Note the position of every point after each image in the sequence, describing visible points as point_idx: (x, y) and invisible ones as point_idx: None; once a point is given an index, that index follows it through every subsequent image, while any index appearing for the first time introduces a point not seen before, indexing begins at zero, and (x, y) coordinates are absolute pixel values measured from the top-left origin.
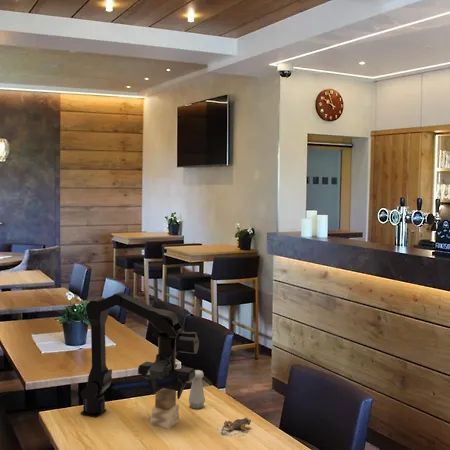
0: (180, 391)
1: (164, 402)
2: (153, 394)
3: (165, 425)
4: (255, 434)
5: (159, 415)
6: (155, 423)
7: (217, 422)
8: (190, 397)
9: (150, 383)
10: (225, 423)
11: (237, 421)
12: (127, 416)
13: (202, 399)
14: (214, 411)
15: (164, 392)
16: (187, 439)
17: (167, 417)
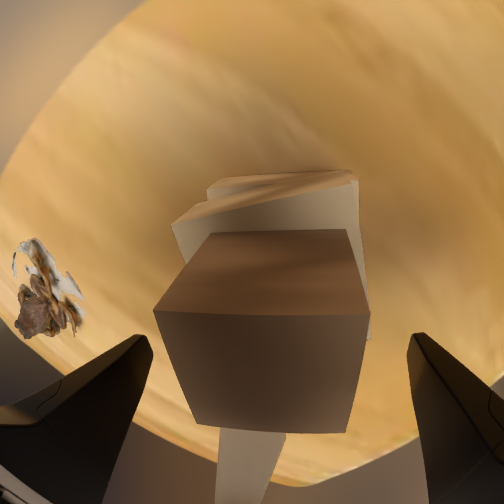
0: (76, 376)
1: (239, 258)
2: (412, 334)
3: (243, 177)
4: (8, 287)
5: (284, 187)
6: (316, 174)
7: (108, 328)
8: (265, 438)
9: (487, 415)
10: (68, 315)
11: (23, 311)
12: (499, 219)
13: (220, 436)
14: (179, 398)
15: (260, 363)
16: (85, 126)
17: (223, 199)
